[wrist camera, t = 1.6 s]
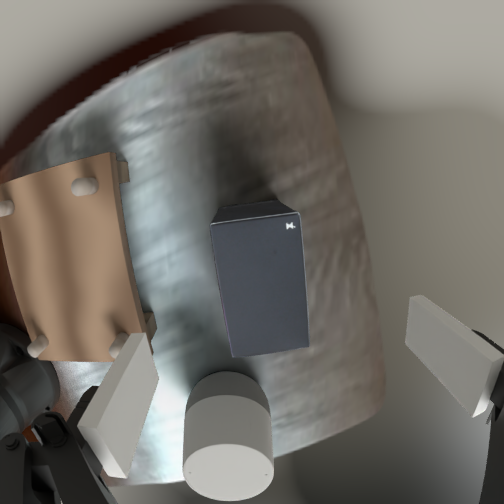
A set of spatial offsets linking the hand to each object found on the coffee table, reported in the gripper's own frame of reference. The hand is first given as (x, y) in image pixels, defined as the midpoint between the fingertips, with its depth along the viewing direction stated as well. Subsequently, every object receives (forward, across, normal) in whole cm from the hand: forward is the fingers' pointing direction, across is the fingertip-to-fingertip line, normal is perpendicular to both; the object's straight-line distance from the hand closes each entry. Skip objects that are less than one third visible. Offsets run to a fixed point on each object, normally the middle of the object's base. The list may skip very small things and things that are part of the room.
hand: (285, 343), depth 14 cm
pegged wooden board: (+18, -18, +2) cm, 26 cm away
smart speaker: (+18, -6, -17) cm, 25 cm away
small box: (+18, 0, 0) cm, 18 cm away
